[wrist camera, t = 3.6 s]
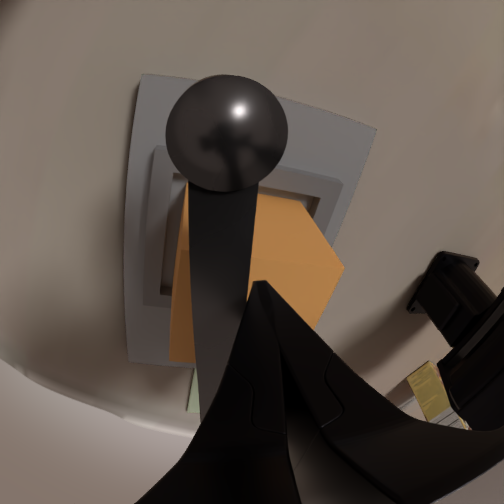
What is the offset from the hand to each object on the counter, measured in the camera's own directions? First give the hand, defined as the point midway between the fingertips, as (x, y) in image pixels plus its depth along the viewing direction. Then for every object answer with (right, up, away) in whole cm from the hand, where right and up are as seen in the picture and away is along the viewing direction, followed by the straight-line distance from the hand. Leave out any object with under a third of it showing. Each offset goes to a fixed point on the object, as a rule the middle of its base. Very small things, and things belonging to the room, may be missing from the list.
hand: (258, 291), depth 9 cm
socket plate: (-2, +1, +10) cm, 10 cm away
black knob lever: (-3, +1, +8) cm, 8 cm away
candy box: (+24, -16, +26) cm, 39 cm away
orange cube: (-1, +2, +8) cm, 8 cm away
